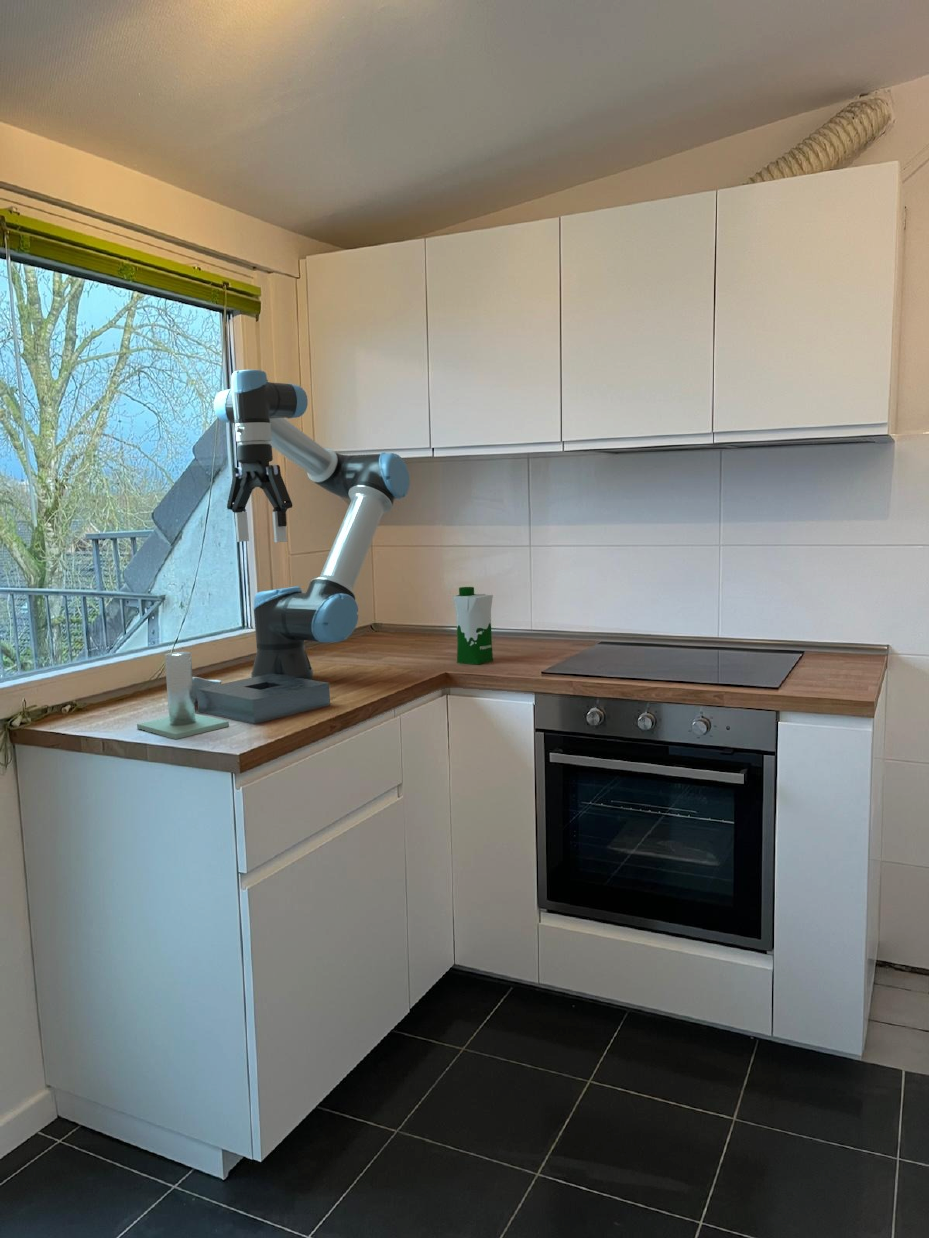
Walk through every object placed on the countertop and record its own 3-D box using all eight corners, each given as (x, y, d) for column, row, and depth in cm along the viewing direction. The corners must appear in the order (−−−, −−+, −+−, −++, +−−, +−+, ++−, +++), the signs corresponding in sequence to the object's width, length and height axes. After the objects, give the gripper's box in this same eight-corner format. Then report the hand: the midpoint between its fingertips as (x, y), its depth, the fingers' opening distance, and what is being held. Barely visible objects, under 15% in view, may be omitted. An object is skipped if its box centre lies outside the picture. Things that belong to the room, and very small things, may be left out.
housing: (198, 711, 199) (196, 688, 199) (273, 694, 214) (272, 673, 214) (254, 724, 186) (252, 699, 186) (330, 705, 201) (329, 682, 200)
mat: (137, 728, 185) (137, 724, 185) (189, 716, 194) (189, 712, 194) (175, 739, 176) (175, 734, 176) (228, 726, 185) (228, 721, 185)
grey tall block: (164, 723, 185) (159, 654, 183) (186, 718, 189) (181, 650, 187) (178, 726, 182) (173, 656, 180) (200, 721, 185) (195, 653, 184)
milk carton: (471, 658, 254) (469, 585, 252) (498, 660, 249) (496, 586, 246) (451, 663, 247) (449, 588, 245) (479, 666, 242) (476, 590, 239)
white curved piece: (174, 695, 218) (171, 665, 218) (225, 692, 220) (222, 662, 219) (156, 718, 195) (153, 685, 194) (213, 714, 197) (211, 681, 196)
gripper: (206, 447, 206) (214, 542, 209) (275, 440, 189) (283, 543, 193) (234, 447, 211) (241, 539, 215) (304, 440, 195) (311, 540, 198)
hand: (261, 541), depth 204 cm, fingers open, 13 cm apart
